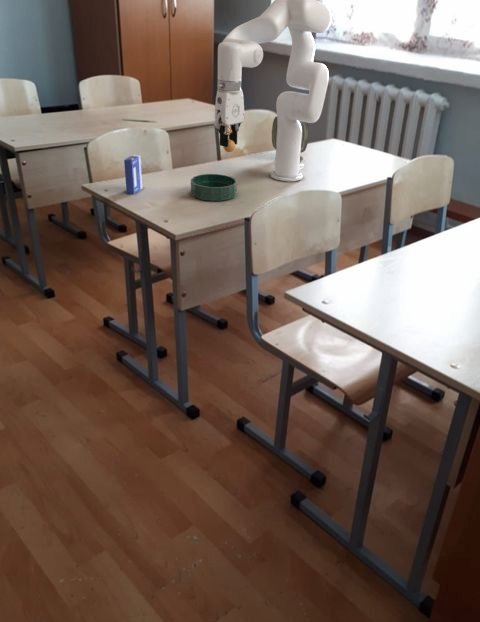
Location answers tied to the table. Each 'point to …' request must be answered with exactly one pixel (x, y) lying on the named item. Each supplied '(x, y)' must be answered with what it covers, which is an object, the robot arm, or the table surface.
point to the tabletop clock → (304, 135)
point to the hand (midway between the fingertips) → (228, 144)
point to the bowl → (213, 187)
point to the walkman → (133, 174)
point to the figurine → (229, 141)
